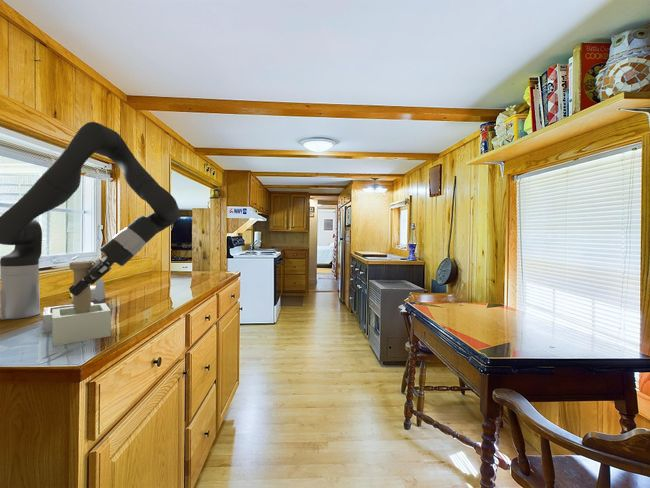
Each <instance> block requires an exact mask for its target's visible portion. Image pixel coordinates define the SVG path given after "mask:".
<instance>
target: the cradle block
mask: <svg viewBox="0 0 650 488" xmlns="http://www.w3.org/2000/svg"><path fill="white" fill-rule="evenodd" d="M89 311H90V312H88V313H80V314H75V313H76V312H75V311H74V307H68V308H59V309H52V328H53V332H52V347H57V346H62V345H68V344H74V343H79V342H83V341H90V340H96V339H97V340H98V339H103V338H107V337H112V312H111V311H112V310H111V308H110V307H109V306H108V305H107V303H106V302H105V303H102V304H94V303H93V305H91V307H90V310H89Z"/></svg>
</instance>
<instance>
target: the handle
mask: <svg viewBox="0 0 650 488" xmlns="http://www.w3.org/2000/svg"><path fill="white" fill-rule="evenodd" d="M92 265H93V261H72V262H69V269H70V270H71V271H73V284H72V285H73V287H74V286H75V285H76V284H77V283H78V282H79V281H82V280H81V279H82V278H83V277H85V276H86V275H87V271H88V270H89V269H90V268H91V267H92ZM90 286H91V285H90ZM90 286H89V285H88V287H86V288H85V289H84V290H83V291H82V292H81V293H80V294H79V295H77V296H75V295H73V298H72V303H73V304H74V311H75V312H76V313H75V314H80V313H88V312H90V311H89V310H90V307H91V302H92V301H91V291H90Z"/></svg>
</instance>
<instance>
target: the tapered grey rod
mask: <svg viewBox="0 0 650 488" xmlns="http://www.w3.org/2000/svg"><path fill="white" fill-rule="evenodd" d="M95 285H96V288H95V294H94V301H93V304H102V303H106V293H105V283H104V279H99V280H97V281H96V282H95Z"/></svg>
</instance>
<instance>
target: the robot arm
mask: <svg viewBox="0 0 650 488" xmlns="http://www.w3.org/2000/svg"><path fill="white" fill-rule="evenodd" d="M94 154H96V155H100V156H103V157H106V158H107V159H109V160H111V161H112V162H113V163H114V164H115V165H116V166H118V168H119V169H120V170H121V172H122V175H123V178H124V180H125V183H126V184H127V185H128V186H129V187H130V189H131V190H132V191H133V192H134V193H135V194H136V195H137V196H138V197H139V198H140V199H141V200H143V201H145V202H146V203H147V204H148V205H149V207H150V208H151V209H152V211H153V212H152V213H151V214H149V215H148V216H144V215H139V216H138V217H137V218H136V219H134V220H133V221H131V223H129V224H128V225H127V226H126V227H124V229H122V230H120V231H119V232H117V234H115V235H113V237H112V238H110V239H109V240H108V241H107V242H106V243H105V244H103V246H101V247H100V248H99V250H100V252H101V253H102V254H104V256H103V257H102V258H101V259H100V258H97V259H96V260H95V261H94V262H93V263H92V267H91V268H90V269H89V270H88V271H87V275H86V276H85V277H83V278H82V279H81V280H82V281H79V282H78V283H77V284H76V285H75V286H74V287H73V284H72V285H71V286H70V287H69V288H68V291H69V290H70V293H69V294H71V293H72V294H73V295H75V296H77V295H79V294H80V293H81V292H82V291H83V290H84V289H85V288H86V287H88V285H89V286H93V285H94V284H96V281H97V280H101V278H102V277H104V276H105V275H106V274H107V273H109V272H110V271H111V270H112V266H113V265H114V263H115V264H118V265H119V266H120V267H123V266H125V265H126V264H127V263H128V262H129V261H131V259H132V258H133V257H135V256H136V255H137V254H138V253H139V252H140V251H142V249H143V248H144V246H145V245H146V244H147V243H148V242H150V240H152V238H154V237H155V236H156V235H157V234H159V233H160V232H162V231H164V230H166V229H167V228H168V227H170V226H172V225H173V224H174V223H175V222H177V219H178V218H179V217H180V214H181V213H180V208H179V205H178V203H177V200H176V198H175V197H174V196H173V195H172V194H171V193H170V192H169V191H167V190H166V189H165V188H164V187H163V186H161V185H160V184H159V183H158V181H156V180H155V178H154V177H153V176H152V175H151V174H150V173H149V172H148V171H147V170H146V169H145V168H144V167H143V165H142V164H141V163H140V162H139V161H138V158H136V157H135V156H134V154H133V152H132V151H131V149H130V148H129V147H128V145H127V143H126V142H125V139H123V137H122V136H121V135H120V134H119V133H118V132H117V131H115V130H114V129H112V128H110V127H108V126H105V125H104V124H102V123H99V122H96V121H89V122H86V123H85V124H83V125H82V126H81V127H80V128H79V129H78V131H77V132H76V133H75V134H74V136H73V138H72V139H71V140H70V142H69V143H68V144H67V146H66V148H65V149H64V150H63V152H62V153H61V154H60V155H59V156H58V157H57V158H56V160H55V161H54V162H53V163H52V164H51V166H49V167H48V169H47V170H46V171H45V172H44V173H43V174H42V175H41V176H40V177H39V178H38V179H37V180H36V181H35V183H34V184H33V185H32V186H31V188H29V190H27V191H26V193H25V194H23V195H22V196H21V198H19V200H17V201H16V202H15V203H14V204H13V205H12V206H11V207H10V208H8V210H6V211H4V213H3V214H1V215H0V245H4V246H14V249H13V250H12V251H11V252H9V253H8V254H6V255H4V256H2V257H0V320H1V321H2V320H16V319H23V318H24V319H25V318H30V317H34V316H37V315H40V314H41V305H40V304H41V302H40V301H41V300H40V299H41V298H40V263H39V262H40V261H39V260H40V258H41V256H42V252H43V251H42V247H43V245H42V244H43V242H42V241H43V229H42V225H41V224H40V222H39V221H38V220H37V219H36V218H38V217H39V216H41V215H43V214H46V213H47V212H50V211H51V210H54V209H56V208H57V207H59V206H61V205H63V204H64V203H66V202H67V201H68V200H69V199H70V198H71V197H72V196H73V195H74V194H75V192H77V190H78V189H79V187H80V184H81V178H82V176H81V175H82V168H83V166H84V165H85V163H86V162H87V160H89V159H90V157H91V156H93V155H94Z"/></svg>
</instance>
